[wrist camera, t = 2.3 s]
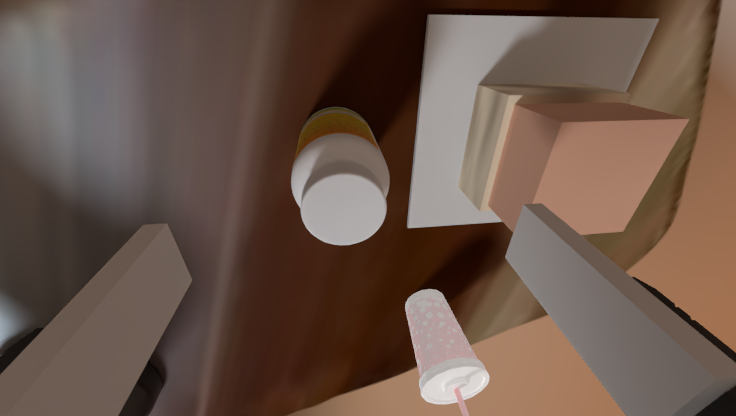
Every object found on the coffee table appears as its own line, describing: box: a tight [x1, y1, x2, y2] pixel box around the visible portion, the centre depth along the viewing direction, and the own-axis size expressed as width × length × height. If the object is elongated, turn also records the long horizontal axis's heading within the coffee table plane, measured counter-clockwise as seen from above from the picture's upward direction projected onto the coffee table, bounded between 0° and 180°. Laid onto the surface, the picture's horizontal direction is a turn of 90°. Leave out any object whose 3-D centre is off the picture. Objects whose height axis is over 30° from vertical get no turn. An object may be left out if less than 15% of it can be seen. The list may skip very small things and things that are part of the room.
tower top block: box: [488, 102, 689, 235], centre depth 17 cm, size 7×7×4 cm
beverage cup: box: [405, 289, 490, 416], centre depth 26 cm, size 6×6×14 cm
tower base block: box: [458, 83, 631, 212], centre depth 21 cm, size 8×8×4 cm
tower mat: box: [407, 15, 659, 228], centre depth 23 cm, size 16×16×1 cm
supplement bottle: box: [291, 107, 390, 245], centre depth 17 cm, size 5×5×10 cm
